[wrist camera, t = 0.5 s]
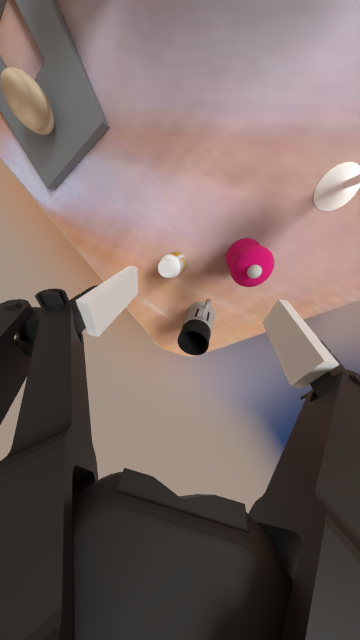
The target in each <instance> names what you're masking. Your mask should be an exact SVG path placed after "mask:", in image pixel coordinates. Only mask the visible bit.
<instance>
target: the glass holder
mask: <svg viewBox="0 0 360 640" xmlns="http://www.w3.org/2000/svg"><path fill="white" fill-rule="evenodd" d="M210 301H211V300H210V299H207V301H206V303H205V302H197V303H194V304H193V305H192V306H191V307H190V308H189V311H188V316H187V318H186V320H185V322H184V325H183V327H182V330H181V333H180V335H179V337H178V345H179V347H180V348H181V349H182V350H183V351H184V352H186V353H188V354H190V355H201V354H203V353H205V352H206V351H207V349H208V346H209V339H210V336H211V330H212V324H213V320H214V318H215V311H214V309H213V307H212V306H211V305H210Z"/></svg>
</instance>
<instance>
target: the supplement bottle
mask: <svg viewBox="0 0 360 640" xmlns="http://www.w3.org/2000/svg"><path fill="white" fill-rule="evenodd" d="M186 264H187V260H186V257H185V256H184V254H182V253H181V252H173V253H170V254H167V255H165V256H164V257H163V258H162V259H161V261H160V262H159V264H158V271H159V273H160V275H161V276H163V277H165V278H173V277H176V276H177V275H178V274H179V273H181V272H182V271H183V270H184V269H185V267H186Z"/></svg>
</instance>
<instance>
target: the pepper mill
mask: <svg viewBox="0 0 360 640" xmlns="http://www.w3.org/2000/svg"><path fill="white" fill-rule="evenodd" d="M226 263H227V266H228V267H229V269H230V272H231V276H232V278H233V280H234V281H235V282H236V283H237V284H239V285H241V286H245V287H253V286H257V285H259V284H261V283H263V282H264V281H265V280H266V279H267V278H268V277H269V276H270V274H271V273H272V270H273V267H274V258H273V255H272V253H271V252H270V251H269V250H268V249H267V248H265V247H263V246H260V244H259V243H258V242H257V241H255V240H253V239H250V238H244V239H240V240H238V241H236V242H235V243H234V244H233V245H232V246H231V247H230V248H229V250H228V252H227V255H226Z"/></svg>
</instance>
